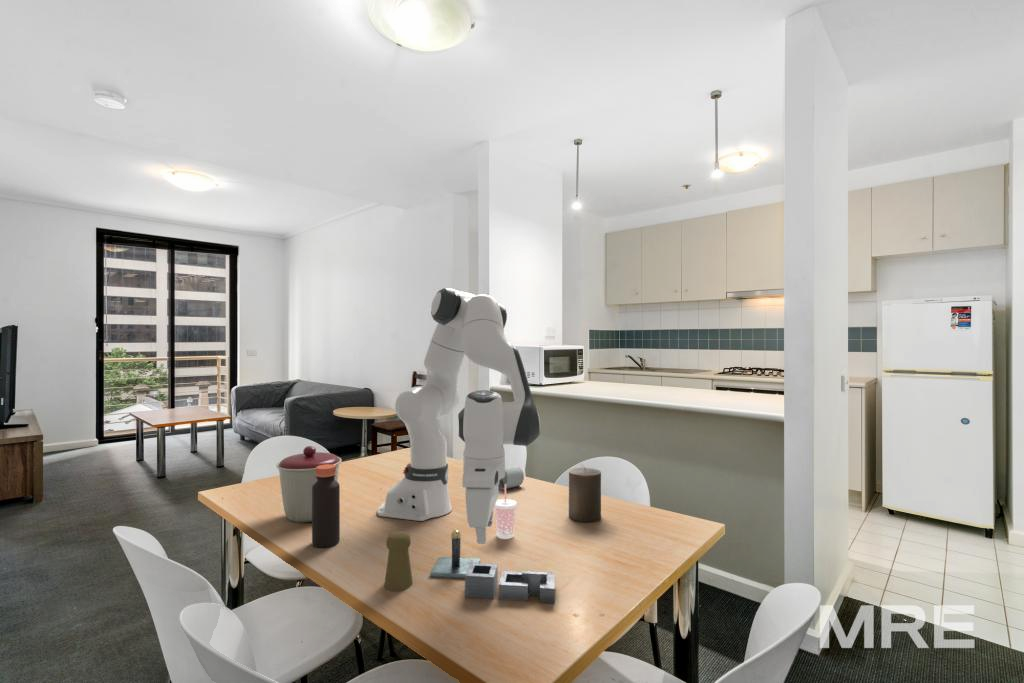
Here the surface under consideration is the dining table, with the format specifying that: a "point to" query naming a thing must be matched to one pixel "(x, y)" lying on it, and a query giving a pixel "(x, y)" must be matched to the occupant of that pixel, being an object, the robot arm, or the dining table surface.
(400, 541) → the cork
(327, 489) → the bottle
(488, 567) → the end link
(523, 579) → the chain tail
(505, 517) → the beverage cup
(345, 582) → the dining table surface
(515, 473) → the ceramic mug
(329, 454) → the canister
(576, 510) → the pillar candle
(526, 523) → the dining table surface
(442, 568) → the grey plate with post
